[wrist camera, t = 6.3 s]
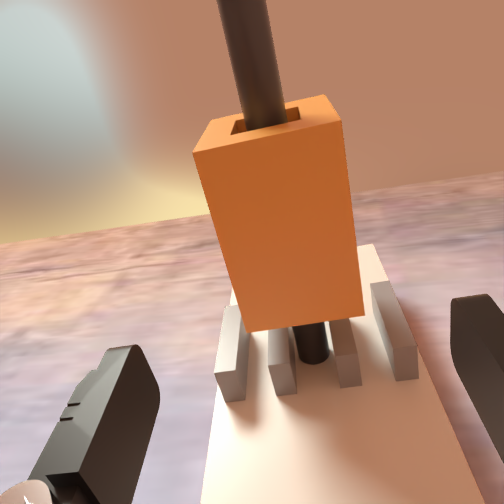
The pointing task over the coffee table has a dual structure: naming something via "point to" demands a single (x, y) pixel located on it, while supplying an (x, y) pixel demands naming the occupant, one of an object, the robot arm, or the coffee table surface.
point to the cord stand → (323, 372)
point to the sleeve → (284, 216)
